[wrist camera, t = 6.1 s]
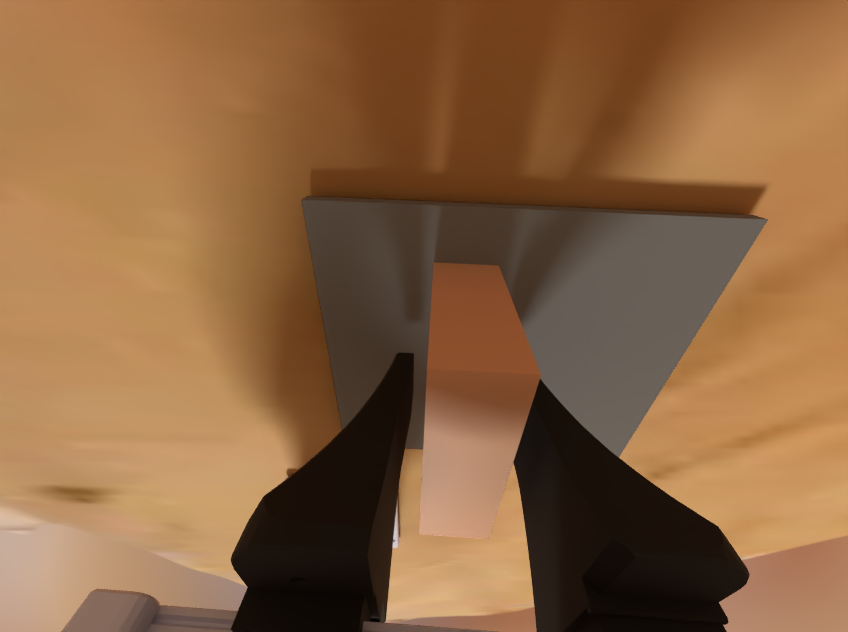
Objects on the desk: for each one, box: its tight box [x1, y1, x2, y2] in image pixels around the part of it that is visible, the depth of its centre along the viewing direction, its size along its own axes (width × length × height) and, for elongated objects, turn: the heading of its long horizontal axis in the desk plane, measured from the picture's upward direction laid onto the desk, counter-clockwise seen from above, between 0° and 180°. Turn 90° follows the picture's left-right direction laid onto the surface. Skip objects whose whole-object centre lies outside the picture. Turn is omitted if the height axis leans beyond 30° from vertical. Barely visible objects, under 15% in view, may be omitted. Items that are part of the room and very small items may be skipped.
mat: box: [301, 196, 768, 457], centre depth 15 cm, size 14×16×1 cm
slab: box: [419, 262, 541, 539], centre depth 11 cm, size 8×2×6 cm, turn 178°
